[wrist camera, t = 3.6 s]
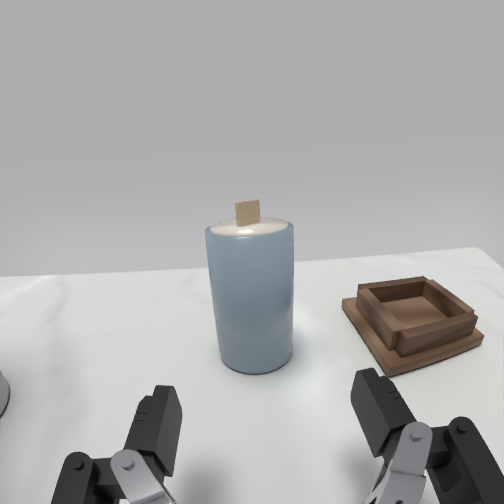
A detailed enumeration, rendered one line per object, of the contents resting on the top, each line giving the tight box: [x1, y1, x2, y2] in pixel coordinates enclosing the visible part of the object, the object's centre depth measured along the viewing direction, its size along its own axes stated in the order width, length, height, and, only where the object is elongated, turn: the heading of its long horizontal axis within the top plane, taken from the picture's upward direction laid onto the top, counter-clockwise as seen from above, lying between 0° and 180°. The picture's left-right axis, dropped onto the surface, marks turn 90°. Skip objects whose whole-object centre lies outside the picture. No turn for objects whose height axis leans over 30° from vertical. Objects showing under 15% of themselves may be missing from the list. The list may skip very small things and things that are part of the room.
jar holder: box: [342, 276, 484, 377], centre depth 23 cm, size 12×12×3 cm
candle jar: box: [205, 199, 294, 374], centre depth 21 cm, size 6×6×13 cm
